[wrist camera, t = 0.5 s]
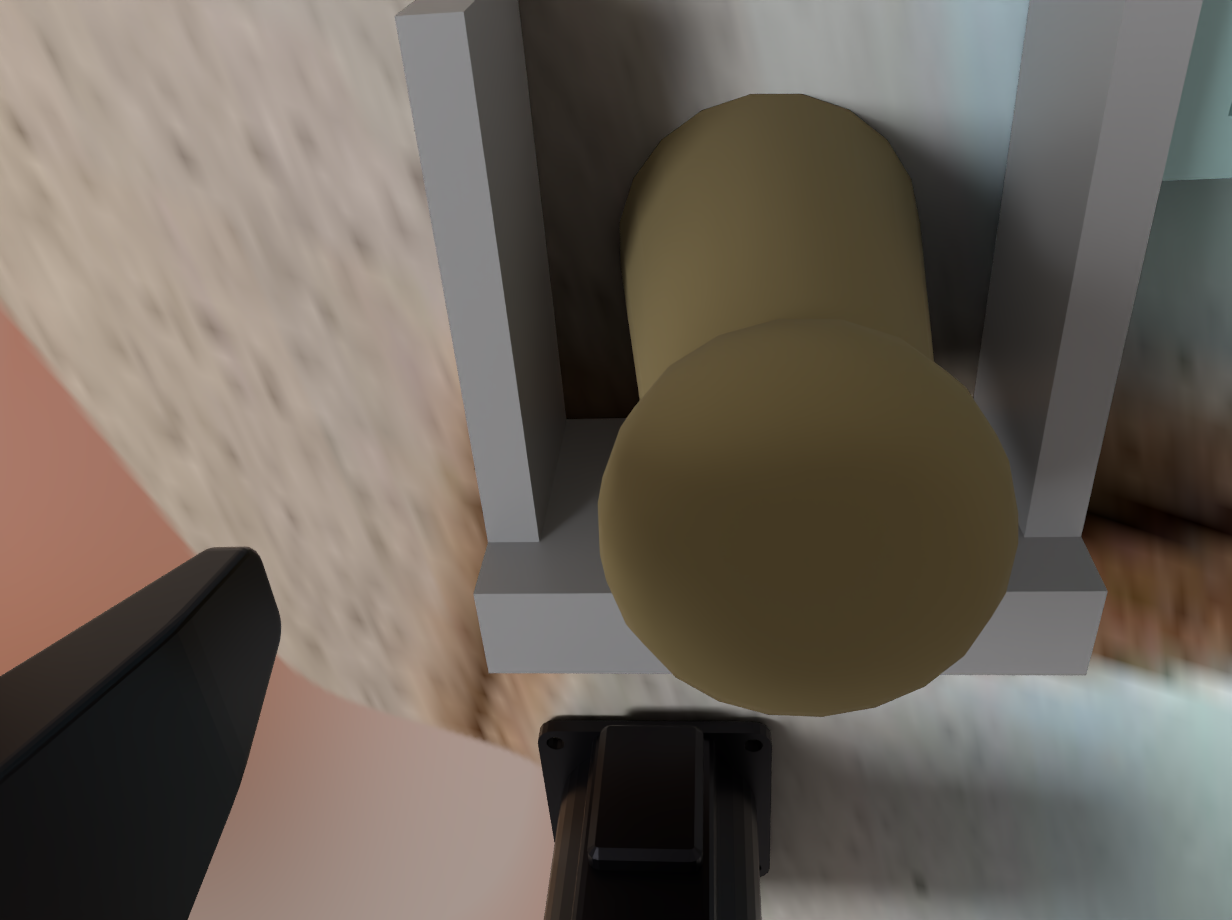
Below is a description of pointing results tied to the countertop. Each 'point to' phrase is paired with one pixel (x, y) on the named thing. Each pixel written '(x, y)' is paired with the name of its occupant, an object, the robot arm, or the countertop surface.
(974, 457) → the cork
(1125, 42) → the bay
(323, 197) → the countertop surface
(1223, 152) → the tray
